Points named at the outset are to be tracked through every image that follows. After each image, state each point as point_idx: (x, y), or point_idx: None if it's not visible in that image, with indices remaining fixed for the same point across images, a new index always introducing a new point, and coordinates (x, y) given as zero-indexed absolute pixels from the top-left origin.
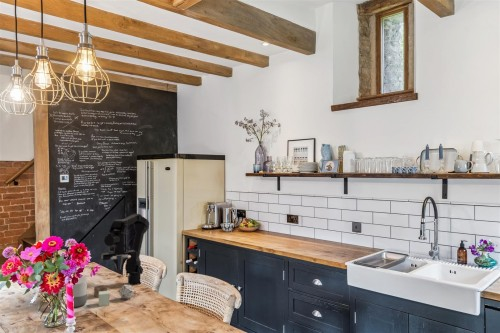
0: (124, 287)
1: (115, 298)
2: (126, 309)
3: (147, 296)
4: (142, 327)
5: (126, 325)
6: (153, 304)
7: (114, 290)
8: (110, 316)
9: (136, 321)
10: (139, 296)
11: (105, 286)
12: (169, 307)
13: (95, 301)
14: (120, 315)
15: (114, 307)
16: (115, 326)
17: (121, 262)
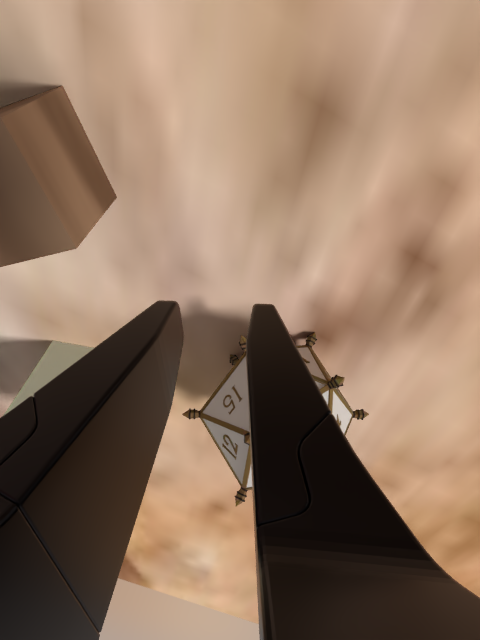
0: (241, 484)
1: (193, 309)
2: (230, 496)
3: (464, 391)
4: (247, 616)
5: (195, 590)
6: (405, 510)
7: (222, 6)
8: (136, 520)
9: (240, 587)
10: (405, 362)
11: (51, 218)
12: (455, 565)
13: (20, 296)
14: (185, 531)
15: (165, 449)
16: (153, 581)
17: (255, 542)
